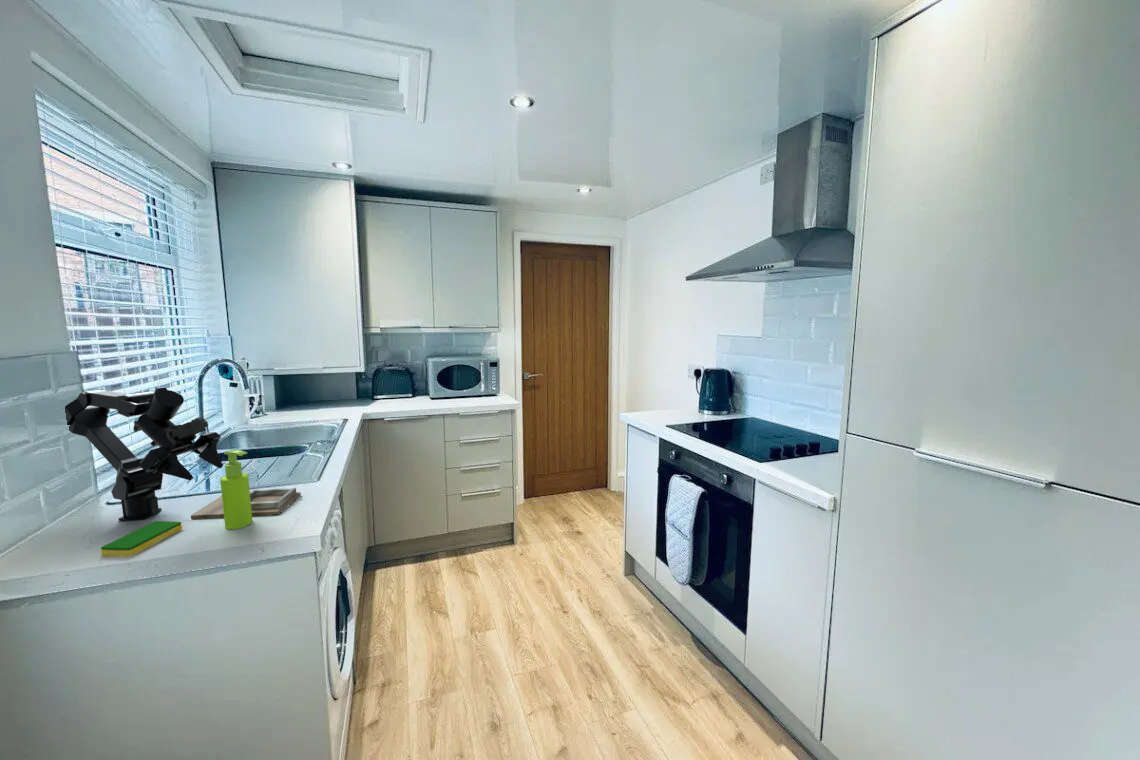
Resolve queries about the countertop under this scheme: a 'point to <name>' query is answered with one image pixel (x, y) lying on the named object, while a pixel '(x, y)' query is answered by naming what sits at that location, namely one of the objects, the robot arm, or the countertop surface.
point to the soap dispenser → (235, 493)
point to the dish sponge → (141, 538)
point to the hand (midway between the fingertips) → (207, 472)
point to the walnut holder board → (254, 503)
